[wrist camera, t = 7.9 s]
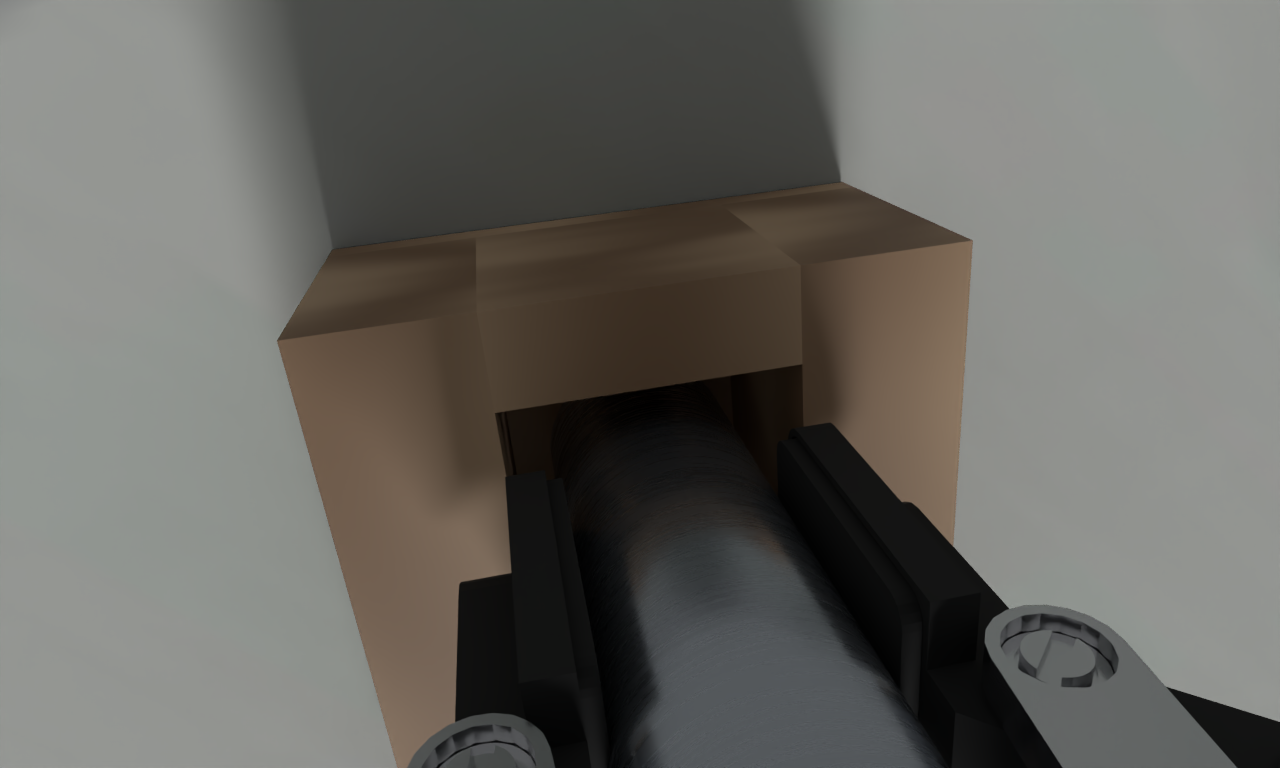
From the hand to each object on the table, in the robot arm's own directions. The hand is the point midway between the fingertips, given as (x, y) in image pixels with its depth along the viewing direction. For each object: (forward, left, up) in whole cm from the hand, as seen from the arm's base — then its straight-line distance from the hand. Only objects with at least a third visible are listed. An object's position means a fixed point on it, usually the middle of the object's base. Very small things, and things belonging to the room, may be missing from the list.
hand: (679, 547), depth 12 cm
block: (0, +3, -5) cm, 6 cm away
